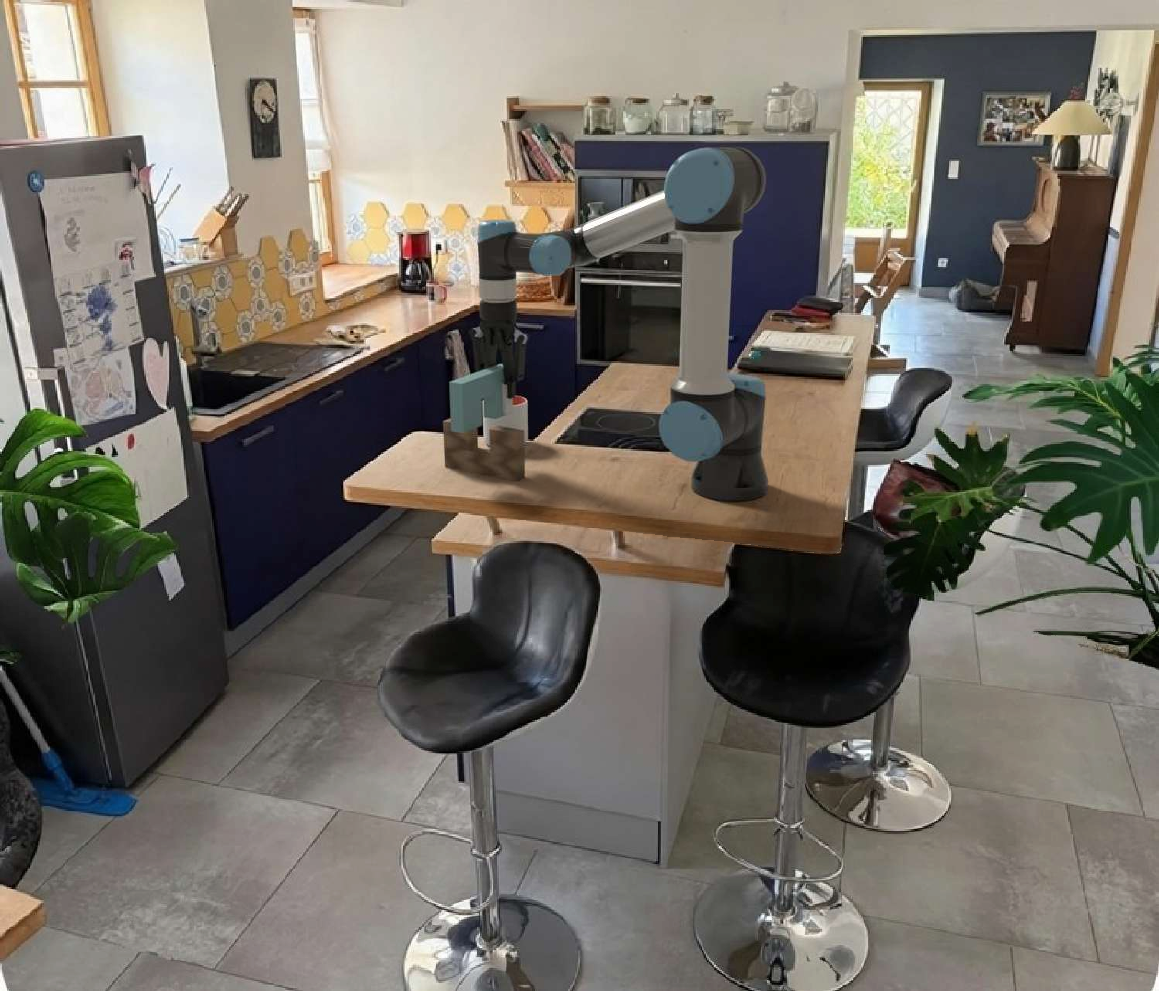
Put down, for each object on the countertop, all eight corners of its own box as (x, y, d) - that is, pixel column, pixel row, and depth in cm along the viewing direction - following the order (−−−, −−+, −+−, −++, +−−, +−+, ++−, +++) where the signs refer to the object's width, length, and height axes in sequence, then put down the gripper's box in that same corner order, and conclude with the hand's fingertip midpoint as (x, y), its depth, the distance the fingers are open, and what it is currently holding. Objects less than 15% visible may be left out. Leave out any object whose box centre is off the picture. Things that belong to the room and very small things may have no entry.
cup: (521, 451, 226) (521, 407, 222) (478, 448, 228) (476, 405, 224) (532, 438, 235) (532, 396, 231) (490, 435, 237) (489, 393, 233)
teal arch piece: (501, 409, 217) (500, 363, 213) (512, 411, 215) (512, 365, 212) (451, 431, 202) (449, 381, 199) (463, 433, 201) (461, 383, 197)
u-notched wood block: (524, 476, 210) (524, 430, 206) (517, 481, 207) (516, 434, 204) (453, 462, 218) (451, 417, 214) (445, 466, 215) (443, 421, 212)
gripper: (541, 300, 205) (542, 412, 213) (475, 293, 212) (478, 402, 221) (522, 305, 199) (523, 421, 207) (454, 298, 206) (458, 410, 214)
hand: (500, 411), depth 214 cm, fingers closed on teal arch piece, 3 cm apart
